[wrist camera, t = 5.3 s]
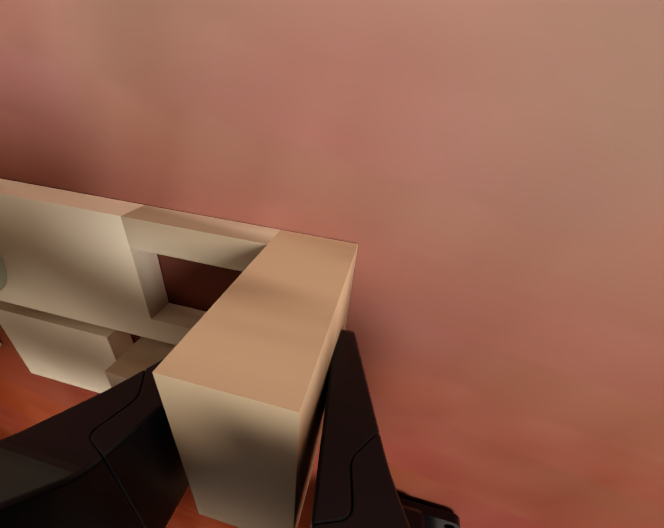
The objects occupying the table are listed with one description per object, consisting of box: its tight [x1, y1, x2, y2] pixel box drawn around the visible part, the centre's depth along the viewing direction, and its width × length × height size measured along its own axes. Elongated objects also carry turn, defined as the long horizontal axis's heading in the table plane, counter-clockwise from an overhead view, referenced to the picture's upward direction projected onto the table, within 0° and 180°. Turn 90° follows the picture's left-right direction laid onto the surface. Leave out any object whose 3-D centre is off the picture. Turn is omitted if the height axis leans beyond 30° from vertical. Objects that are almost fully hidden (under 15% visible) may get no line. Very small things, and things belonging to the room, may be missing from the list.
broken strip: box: [0, 301, 176, 393], centre depth 14 cm, size 4×23×2 cm, turn 85°
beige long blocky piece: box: [0, 179, 358, 528], centre depth 10 cm, size 5×19×6 cm, turn 85°
